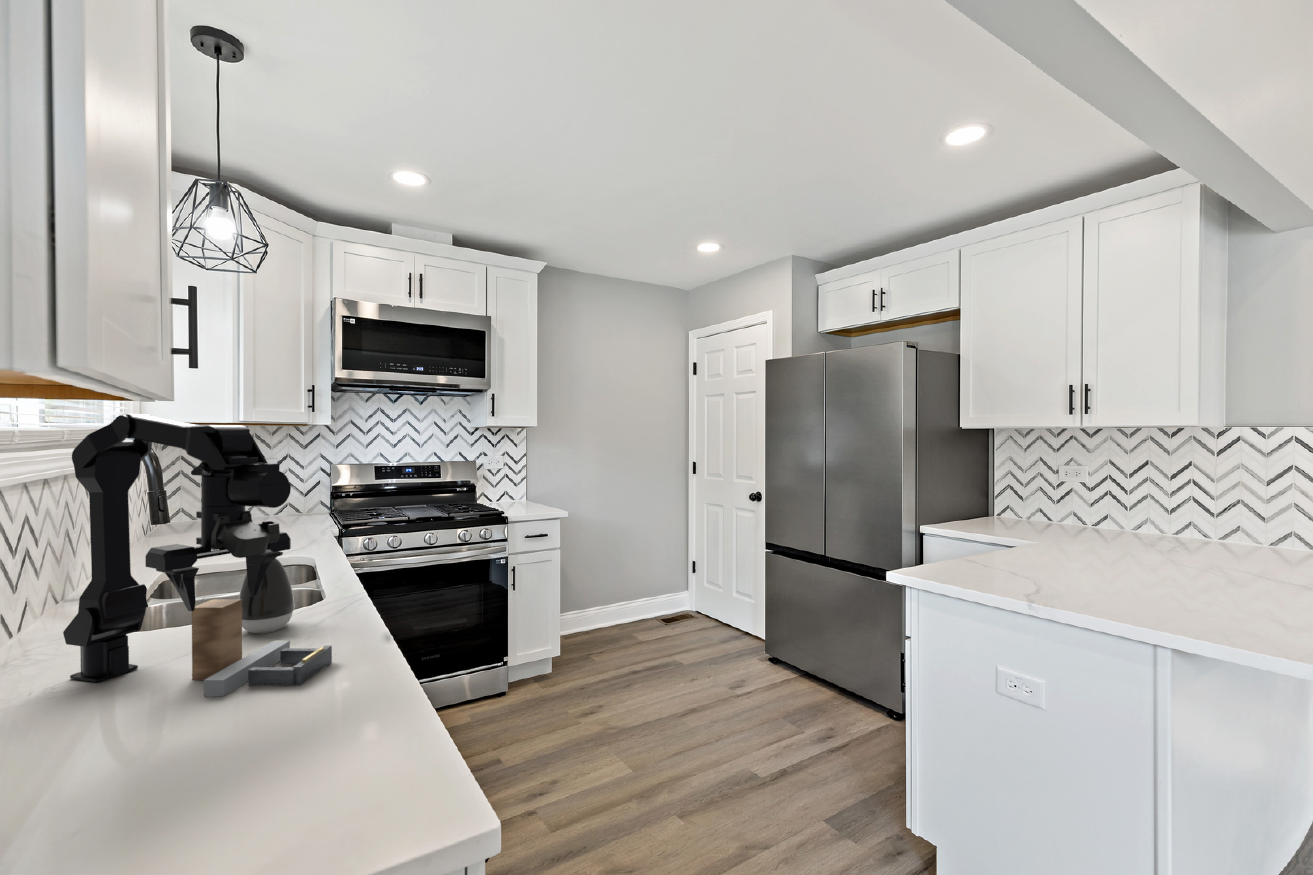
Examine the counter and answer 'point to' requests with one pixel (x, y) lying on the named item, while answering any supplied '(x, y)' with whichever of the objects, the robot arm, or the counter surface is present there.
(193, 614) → the block
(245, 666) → the door edge
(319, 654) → the keeper
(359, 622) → the counter surface
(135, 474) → the robot arm
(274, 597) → the dark grey egg shape
